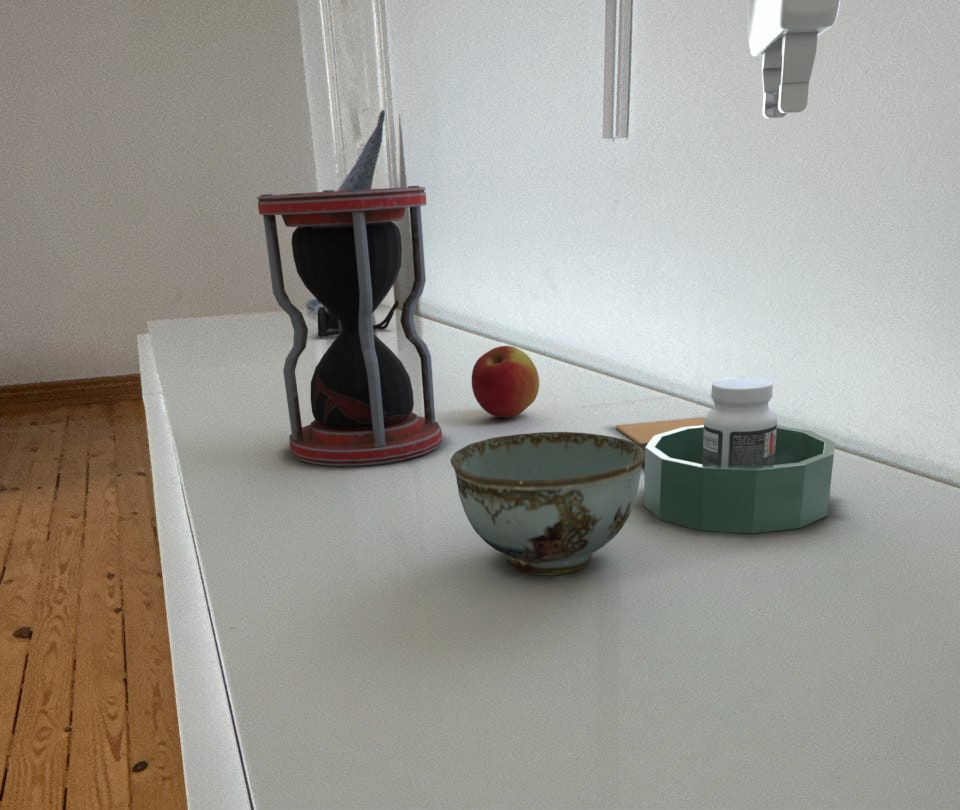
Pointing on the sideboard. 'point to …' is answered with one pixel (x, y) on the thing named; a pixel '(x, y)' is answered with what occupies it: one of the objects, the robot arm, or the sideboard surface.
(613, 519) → the bowl
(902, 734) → the sideboard surface
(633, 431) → the cork coaster
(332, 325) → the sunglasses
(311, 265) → the hourglass
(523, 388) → the apple
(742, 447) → the pill bottle
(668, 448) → the green bowl
